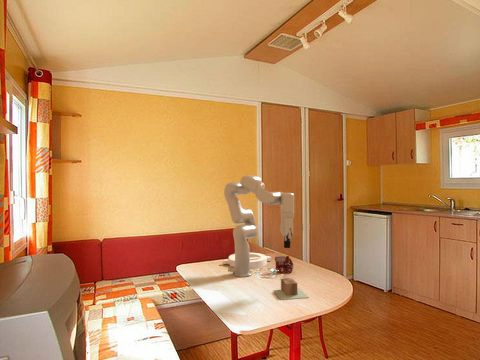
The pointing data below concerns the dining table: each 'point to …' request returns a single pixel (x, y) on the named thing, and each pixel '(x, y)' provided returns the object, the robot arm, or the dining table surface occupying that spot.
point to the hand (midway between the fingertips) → (287, 247)
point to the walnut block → (289, 286)
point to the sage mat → (284, 297)
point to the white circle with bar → (255, 260)
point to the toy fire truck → (284, 264)
